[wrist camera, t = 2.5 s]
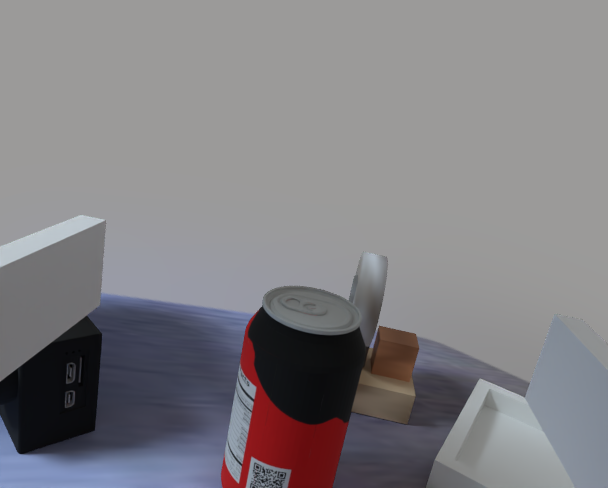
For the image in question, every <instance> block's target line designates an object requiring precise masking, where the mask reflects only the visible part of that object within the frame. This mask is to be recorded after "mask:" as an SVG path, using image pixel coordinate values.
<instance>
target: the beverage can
mask: <svg viewBox="0 0 608 488" xmlns="http://www.w3.org/2000/svg"><path fill="white" fill-rule="evenodd" d="M262 304H263V305H262V307H261V308H260V309H259V311H257V312H256V314H255V315H254V316H253V317H252V318H251V319H250V321H249V323H248V325H247V327H246V330H245V336H244V342H243V348H242V354H241V359H240V365H239V371H238V377H237V383H236V389H235V395H234V401H233V407H232V413H231V418H230V424H229V430H228V436H227V442H226V448H225V454H224V460H223V466H222V472H221V481H222V487H223V488H332V486H333V482H334V478H335V474H336V470H337V466H338V462H339V458H340V455H341V451H342V447H343V443H344V439H345V435H346V431H347V427H348V423H349V419H350V415H351V411H352V407H353V403H354V399H355V395H356V391H357V387H358V383H359V379H360V375H361V371H362V367H363V363H364V359H365V355H366V349H365V342H364V339H363V336H362V333H361V330H360V324H361V321H362V315H361V312H360V311H359V309H358V308H357V307H356V306H355V305H354V304H352V303H351V302H350V301H348V300H346V299H345V298H343V297H341V296H338V295H336V294H333V293H331V292H328V291H325V290H321V289H316V288H311V287H304V286H284V287H279V288H275V289H272V290H270V291H268V292H267V293H266V294H265V295H264V297H263V302H262Z"/></svg>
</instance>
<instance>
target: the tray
mask: <svg viewBox="0 0 608 488" xmlns="http://www.w3.org/2000/svg"><path fill="white" fill-rule="evenodd" d="M426 488H575V486H574V485H573V483H572V481H571V479H570V477H569V476H568V474H567V472H566V470H565V469H564V467H563V465H562V463H561V461H560V460H559V458H558V456H557V454H556V453H555V451H554V449H553V447H552V446H551V444H550V442H549V440H548V438H547V437H546V435H545V433H544V431H543V430H542V428H541V426H540V424H539V422H538V421H537V419H536V417H535V415H534V414H533V412H532V410H531V408H530V406H529V405H528V403H527V401H526V399H525V397H522V396H520V395H518V394H515V393H513V392H511V391H508V390H506V389H504V388H501V387H499V386H497V385H494V384H492V383H490V382H487V381H485V380H483V379H479V381H478V383H477V385H476V386H475V388H474V390H473V392H472V394H471V395H470V397H469V399H468V401H467V403H466V404H465V406H464V408H463V410H462V412H461V413H460V415H459V417H458V419H457V421H456V422H455V424H454V426H453V428H452V430H451V431H450V433H449V435H448V437H447V439H446V440H445V442H444V444H443V446H442V448H441V449H440V451H439V453H438V455H437V457H436V458H435V461H434V464H433V467H432V470H431V473H430V476H429V479H428V482H427V485H426Z"/></svg>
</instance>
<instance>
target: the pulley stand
mask: <svg viewBox="0 0 608 488" xmlns="http://www.w3.org/2000/svg"><path fill="white" fill-rule="evenodd" d="M387 266H388V260H387V257H385V256H381V255H376V254H371V253H366V252H363V253H362V255H361V258H360V261H359V265H358V268H357V272H356V276H355V277H354V280H353V284H352V289H351V293H350V298H349V301H350V302H351V303H352V304H354V305H355V306H356V307H357V308H358V309H359V311H360V312H361V315H362V321H361V324H360V330H361V333H362V336H363V339H364V342H365V349H366V355H365V359H364V363H363V367H362V371H361V375H360V379H359V383H358V387H357V391H356V395H355V399H354V403H353V407H352V411H351V412H355V413H360V414H364V415H368V416H373V417H377V418H381V419H385V420H390V421H394V422H398V423H403V424H408V421H409V417H410V414H411V410H412V407H413V404H414V400H415V397H416V396H415V390H414V385H413V379H412V371H413V368H414V365H415V361H416V358H417V354H418V351H419V345H418V341H417V337H416V334H414V333H409V332H405V331H400V330H396V329H391V328H386V327H382V326H379V328H378V332H377V336H376V340H375V343H374V347H373V348H369V346H370V344H371V342H372V339H373V336H374V333H375V330H376V327H377V323H378V319H379V314H380V311H381V306H382V301H383V296H384V290H385V284H386V277H387Z"/></svg>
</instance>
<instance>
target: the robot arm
mask: <svg viewBox="0 0 608 488" xmlns="http://www.w3.org/2000/svg"><path fill="white" fill-rule="evenodd" d="M105 227H106V220H103V219H98V218H93V217H88V216H84V215H80V216H77V217H75V218H72V219H69V220H67V221H64V222H62V223H59V224H57V225H54V226H51V227H49V228H46V229H44V230H41V231H39V232H36V233H34V234H31V235H28V236H26V237H23V238H21V239H18V240H16V241H13V242H10V243H8V244H5V245H3V246H0V381H1V380H3V379H4V378H5V377H7V376H8V375H9V374H11V373H12V372H13V371H15V370H16V369H17V368H18V367H20V366H21V365H22V364H24V363H25V362H26V361H28V360H29V359H30V358H32V357H33V356H34V355H36V354H37V353H38V352H39V351H41V350H42V349H43V348H45V347H46V346H47V345H49V344H50V343H51V342H53V341H54V340H55V339H56V338H58V337H59V336H60V335H62V334H63V333H64V332H66V331H67V330H68V329H70V328H71V327H72V326H74V325H75V324H76V323H77V322H79V321H80V320H81V319H83V318H84V317H85V316H87V315H88V314H89V313H91V312H92V311H93V310H94V309H96V308H97V307H98V306H100V298H101V283H102V269H103V256H104V255H103V254H104V242H105ZM525 399H526V401H527V403H528V405H529V406H530V408H531V410H532V412H533V414H534V415H535V417H536V419H537V421H538V422H539V424H540V426H541V428H542V430H543V431H544V433H545V435H546V437H547V438H548V440H549V442H550V444H551V446H552V447H553V449H554V451H555V453H556V454H557V456H558V458H559V460H560V461H561V463H562V465H563V467H564V469H565V470H566V472H567V474H568V476H569V477H570V479H571V481H572V483H573V485H574V486H575V488H608V344H607V343H606V342H605V341H604V340H603V339H602V338H601V337H600V336H599V335H598V334H597V333H596V332H595V331H594V330H593V329H592V328H591V327H590V326H589V325H588V324H586V323H585V322H584V321H583V320H582V319H578V318H573V317H568V316H563V315H558V314H555V315H554V317H553V320H552V323H551V326H550V328H549V332H548V334H547V337H546V340H545V343H544V346H543V348H542V351H541V354H540V357H539V359H538V363H537V365H536V368H535V371H534V374H533V376H532V379H531V382H530V385H529V388H528V391H527V393H526V396H525Z"/></svg>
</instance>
